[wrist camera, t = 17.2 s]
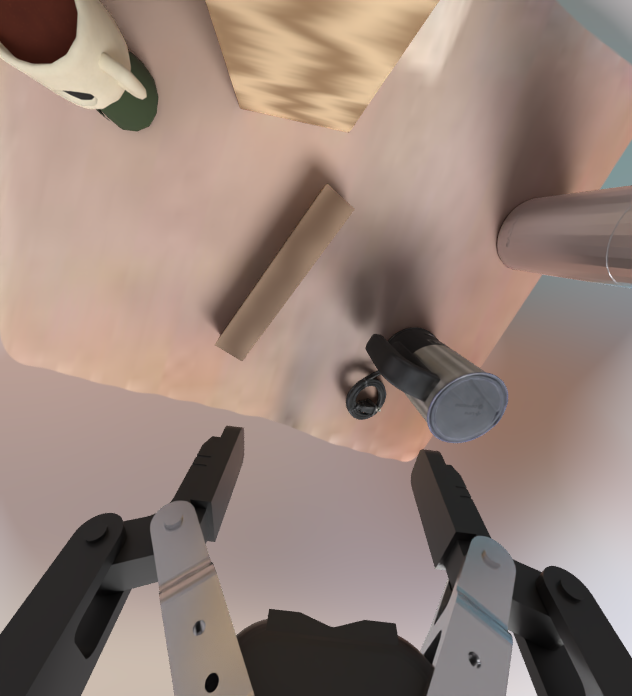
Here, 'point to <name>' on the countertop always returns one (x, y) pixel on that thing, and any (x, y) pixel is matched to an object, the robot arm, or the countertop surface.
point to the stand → (313, 53)
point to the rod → (285, 272)
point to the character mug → (78, 57)
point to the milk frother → (433, 385)
